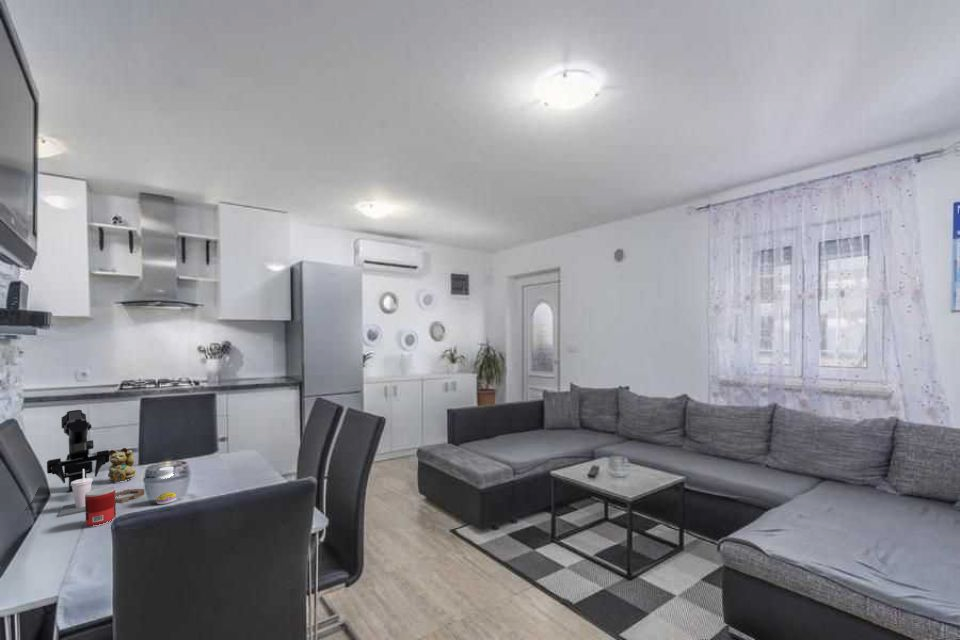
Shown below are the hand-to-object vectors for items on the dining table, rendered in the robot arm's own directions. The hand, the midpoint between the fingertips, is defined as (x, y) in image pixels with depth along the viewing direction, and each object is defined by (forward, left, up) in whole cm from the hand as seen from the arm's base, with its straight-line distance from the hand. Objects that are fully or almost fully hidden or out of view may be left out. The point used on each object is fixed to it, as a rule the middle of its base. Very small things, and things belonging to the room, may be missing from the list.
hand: (80, 479), depth 173 cm
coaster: (+8, +1, -9) cm, 12 cm away
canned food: (+32, +8, -9) cm, 34 cm away
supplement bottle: (+25, +27, -9) cm, 38 cm away
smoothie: (+7, +1, -9) cm, 12 cm away
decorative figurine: (-23, +12, -9) cm, 28 cm away
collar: (+6, +14, -9) cm, 18 cm away
